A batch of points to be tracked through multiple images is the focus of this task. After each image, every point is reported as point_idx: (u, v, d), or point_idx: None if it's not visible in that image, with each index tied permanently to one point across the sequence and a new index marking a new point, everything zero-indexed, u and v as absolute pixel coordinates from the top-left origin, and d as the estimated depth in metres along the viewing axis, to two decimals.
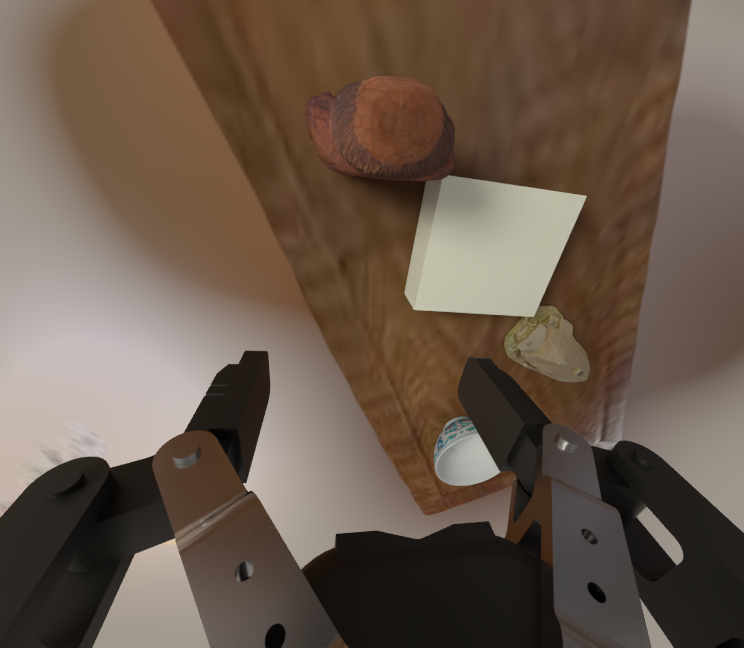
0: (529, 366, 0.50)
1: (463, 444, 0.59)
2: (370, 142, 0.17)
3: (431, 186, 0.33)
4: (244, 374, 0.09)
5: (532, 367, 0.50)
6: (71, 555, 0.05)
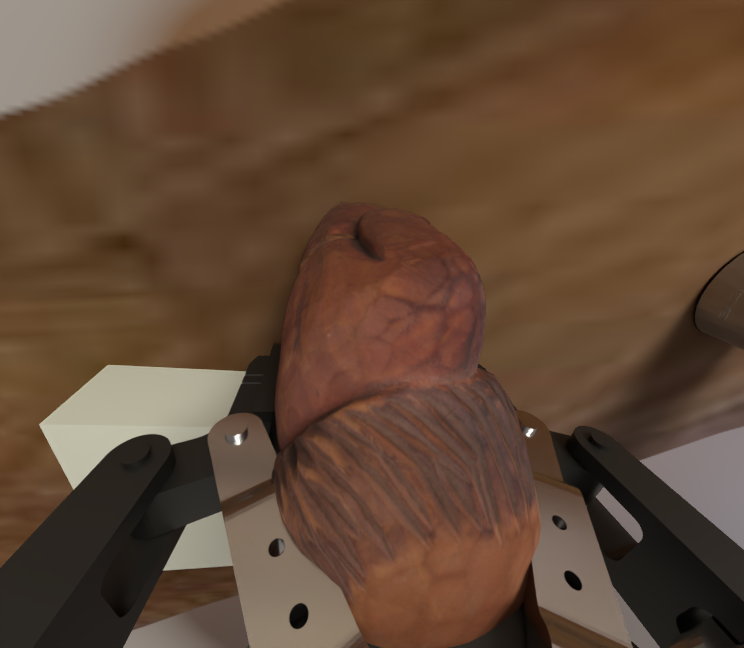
0: None
1: None
2: (375, 623, 0.04)
3: None
4: (276, 364, 0.09)
5: None
6: (134, 523, 0.05)
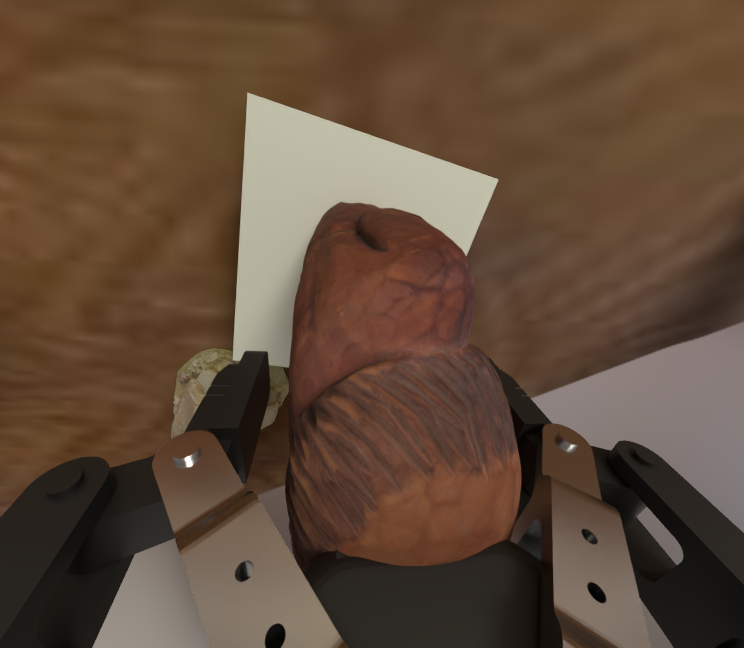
0: (177, 407, 0.29)
1: None
2: (386, 543, 0.05)
3: None
4: (244, 374, 0.09)
5: None
6: (71, 555, 0.05)
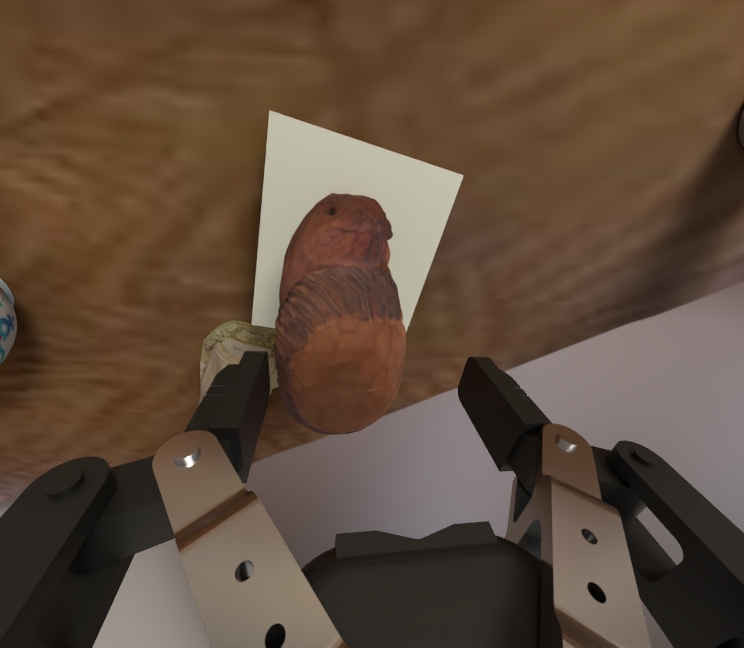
0: (203, 372, 0.34)
1: None
2: (317, 349, 0.10)
3: None
4: (244, 374, 0.09)
5: (203, 376, 0.35)
6: (71, 555, 0.05)
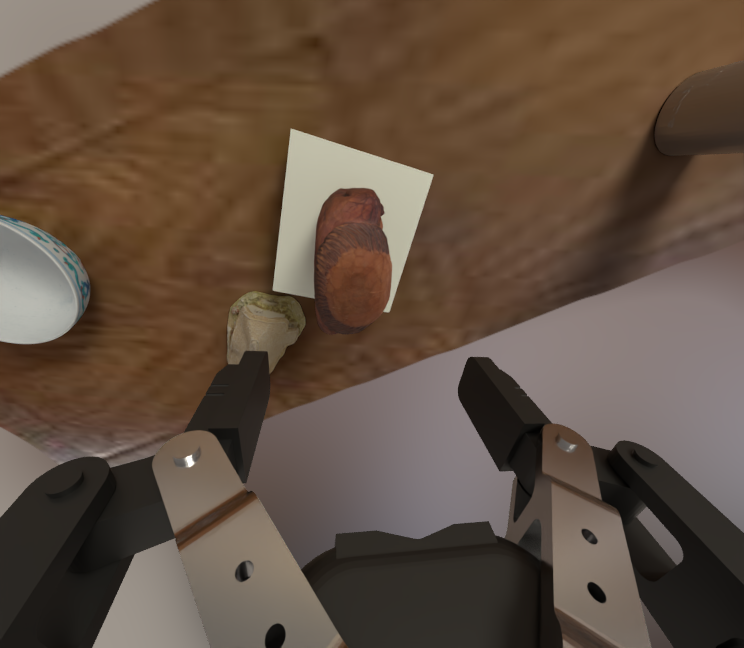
0: (229, 334, 0.43)
1: (18, 275, 0.35)
2: (343, 265, 0.18)
3: None
4: (244, 374, 0.09)
5: (230, 337, 0.43)
6: (71, 555, 0.05)
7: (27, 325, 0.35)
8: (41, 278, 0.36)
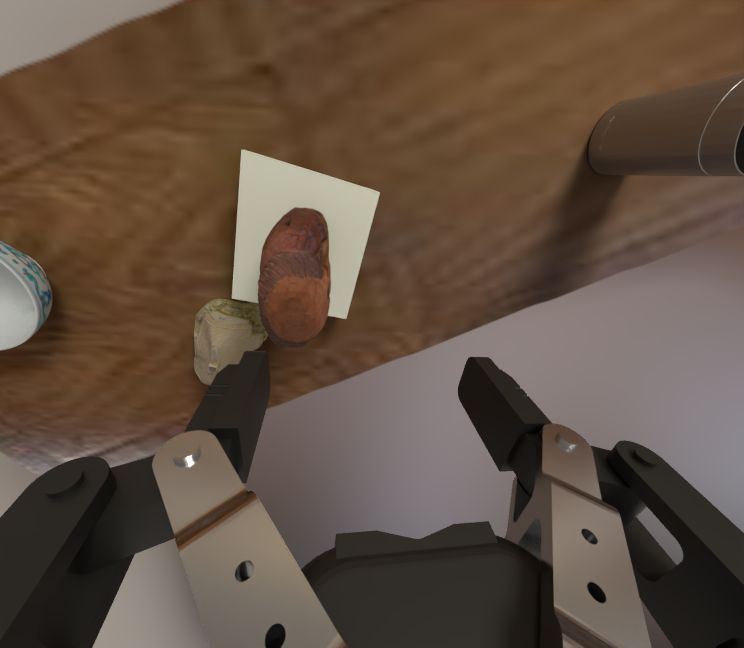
0: (196, 339, 0.44)
1: None
2: (278, 291, 0.21)
3: None
4: (244, 374, 0.09)
5: None
6: (71, 555, 0.05)
7: None
8: (3, 287, 0.37)
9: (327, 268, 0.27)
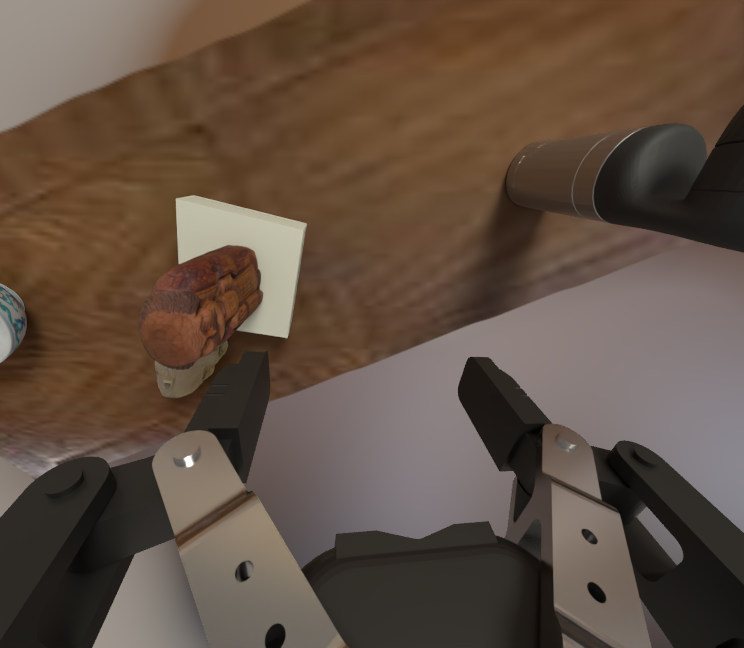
0: None
1: None
2: (148, 323, 0.24)
3: (296, 224, 0.41)
4: (244, 374, 0.09)
5: None
6: (71, 555, 0.05)
7: None
8: None
9: (223, 302, 0.30)
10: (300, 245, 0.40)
